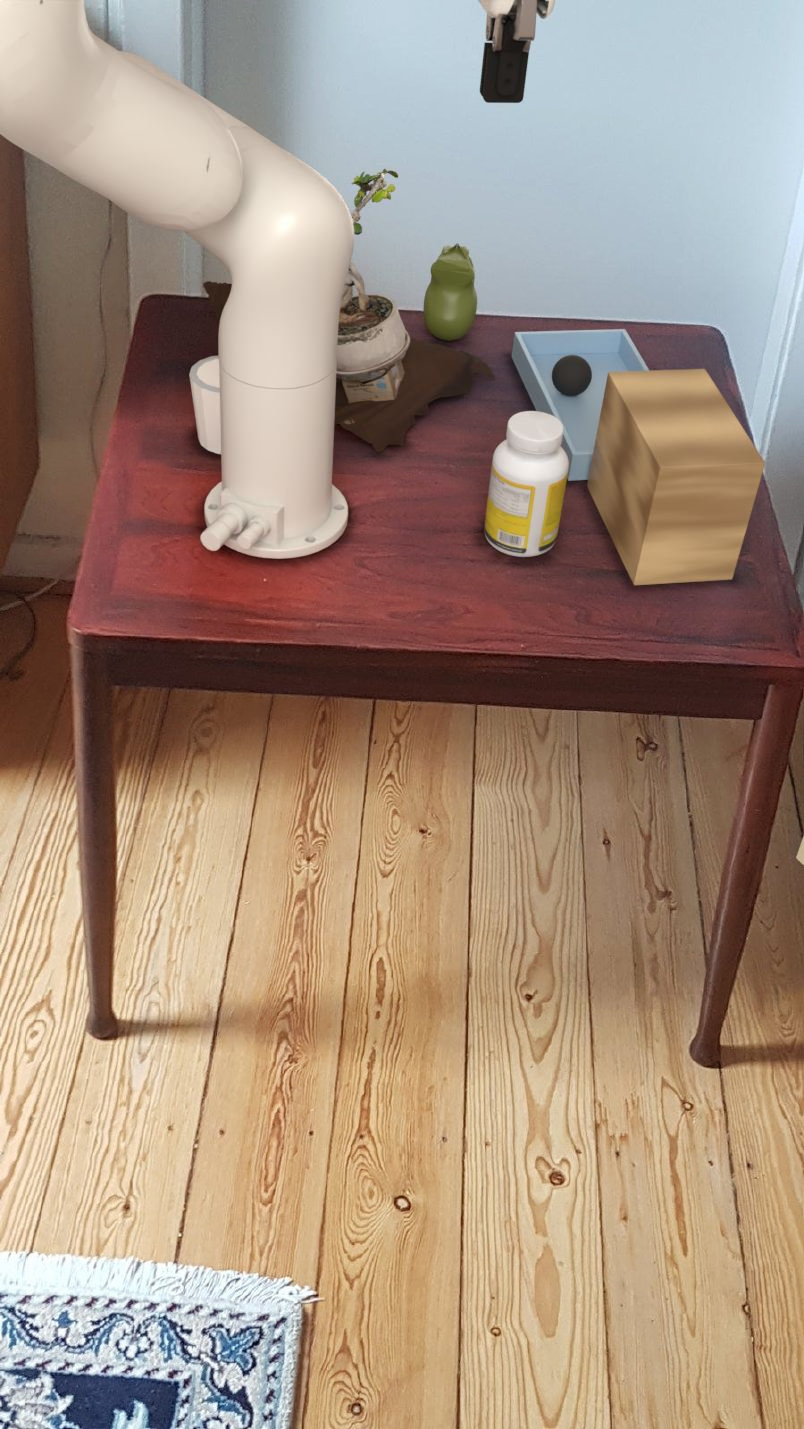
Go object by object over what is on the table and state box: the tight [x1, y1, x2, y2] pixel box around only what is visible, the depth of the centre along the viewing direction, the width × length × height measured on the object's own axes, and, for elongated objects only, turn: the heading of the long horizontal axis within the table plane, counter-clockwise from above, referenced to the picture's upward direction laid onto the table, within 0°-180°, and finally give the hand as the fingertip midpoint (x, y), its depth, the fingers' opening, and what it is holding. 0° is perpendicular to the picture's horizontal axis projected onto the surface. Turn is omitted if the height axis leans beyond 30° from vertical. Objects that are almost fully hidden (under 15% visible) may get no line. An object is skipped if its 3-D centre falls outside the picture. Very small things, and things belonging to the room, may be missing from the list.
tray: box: [510, 328, 650, 482], centre depth 142 cm, size 23×12×3 cm, turn 10°
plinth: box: [586, 368, 766, 586], centre depth 125 cm, size 15×9×12 cm, turn 10°
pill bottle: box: [483, 410, 569, 558], centre depth 123 cm, size 6×6×12 cm
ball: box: [552, 355, 592, 396], centre depth 144 cm, size 4×4×4 cm
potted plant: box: [202, 168, 496, 452], centre depth 138 cm, size 20×19×25 cm
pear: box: [422, 242, 478, 342], centre depth 149 cm, size 6×5×10 cm
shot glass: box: [188, 355, 221, 455], centre depth 133 cm, size 7×7×7 cm
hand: (500, 98), depth 114 cm, fingers closed
